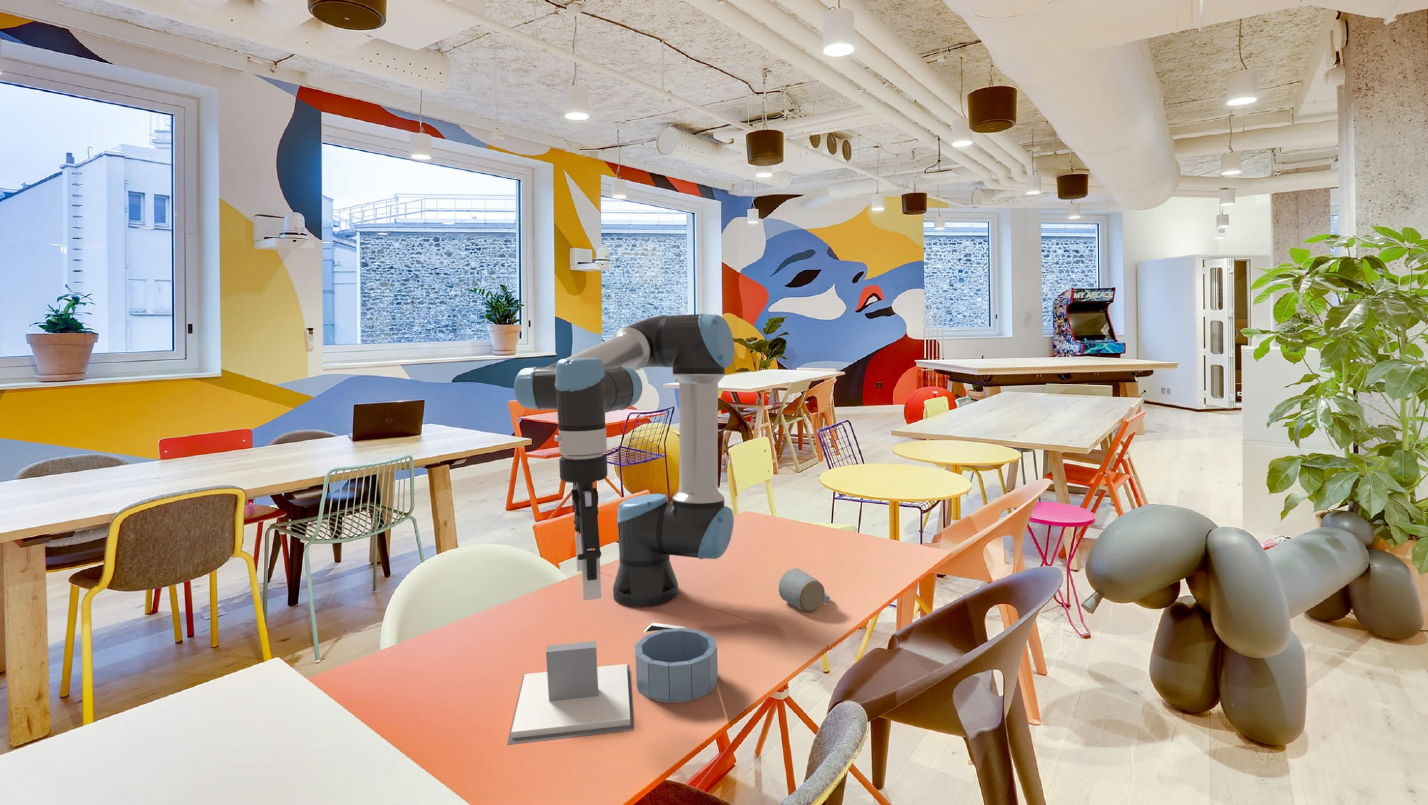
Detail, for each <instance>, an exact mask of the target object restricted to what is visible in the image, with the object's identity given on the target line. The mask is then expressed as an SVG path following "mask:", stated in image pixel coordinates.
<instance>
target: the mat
mask: <svg viewBox="0 0 1428 805" xmlns="http://www.w3.org/2000/svg"><path fill="white" fill-rule="evenodd" d="M627 676H628V692H629V708H630V725H625V726H617V727H608V728H599V729H590V730H581V731H572V732H563V733H555V734H546V735H537V736H528V737H519V738H512V735H511V731H512V727H513V723H514V718H515V714H516V710H517V705H518V701H519V697H520V692H521V688H522V684H523V680H524V675H522V679H521V683H520V687H519V691H518V696H517V701H516V704H515V709H514V712H513V716H512V722H511V725H510V731H509V734H508V735H509V736H508V739H507V743H506V746H508V745H517V744H526V743H535V742H543V741H553V740H562V739H569V738H570V739H571V738H579V737H588V736H597V735H605V734H614V733H622V732H631V731H632V732H633V731H635V724H634V723H635V722H634V710H633V696H632V683H631V680H632V679H631V668H630V664H627Z"/></svg>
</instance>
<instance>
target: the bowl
mask: <svg viewBox="0 0 1428 805" xmlns="http://www.w3.org/2000/svg"><path fill="white" fill-rule="evenodd" d="M634 654H635V657H634V658H635V660H634V661H635V662H634V663H635V680H636V689H637V690H638V692H639V693H640V694H641V695H642V696H644V697H645V698H647V699H649V700H651V701H654V702H655V701H656V702H659V703H660V702H661V703H667V704H669V703H670V704H673V703H674V704H675V703H676V704H677V703H687V702H690V701H694V700H698V699H699V698H703V697H705V696H706V695H708V694H709V693H711V691H713V690H714V688H715V687H717V685H718V680H719V676H718V675H719V671H718V668H719V667H718V645H717V643H716V640H715V637H713V636H712V635H710V634H708V633H706V632H704V631H703V630H699V629H693V628H675V629H664V630H658V631H653V632H651V633H649V634H645V635H643V636H642V638H640V640H638V641H637V642H636V643H635V644H634Z"/></svg>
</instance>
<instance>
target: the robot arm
mask: <svg viewBox="0 0 1428 805" xmlns="http://www.w3.org/2000/svg"><path fill="white" fill-rule="evenodd" d="M734 357H735V343H734V336H733V333H732V330H731V328H730V325H729V324H728V322H727V320H726V319H725V318H724V317H722V315H719V314H710V313H709V314H707V313H700V314H699V313H697V314H696V313H695V314H678V315H677V314H676V315H657V316H653V317H650V318H646V319H643V320H640V321H638V322H635V323H633V324H630V325H627V326H625V327H623V328H620V329H619V330H617V331H616V332H615V333H614V334H613V336H612V338H609V339H607V340H605V341H603V342H601V343H598V344H595V345H594V346H591V347H589V348H587V349H585V350H582V351H580V352H577V353H575V354H573V355H570V356H569V357H567V358H561V359H559V360H558V361H557V362H555V363H552V364H550V365H549V364H548V365H547V366H542V367H541V366H533V367H525V368H523V369H521V370H520V371H519V372H518V373H517V375H516V377H515V379H514V382H513V383H514V384H513V390H514V396H515V399H516V401H517V403H518V404H519V405H520V406H521V407H523V408H525V409H528V410H529V409H530V410H537V411H544V410H545V411H546V410H548V411H552V410H554V411H557V430H558V435H555V436H554V441H555V442H557V443H558V442H559V443H558V451H559V452H558V453H559V454H561V455H562V456H561V457H560V458H559V459H558V461H559V462H558V463H559V464H558V466H559V478H560V479H561V481H562V482H565V483H570V484H573V489H571V500H572V505H573V510H574V511H573V512H574V513H573V514H574V520H573V524H574V531H575V533H574V535H575V538H574V539H575V555H576V556H575V557H576V558H575V560H576V572H581V577H582V578H581V580H582V581H581V582H582V583H581V584H582V600H583V601H588V600H589V601H590V600H599V599H602V584H601V582H602V579H601V560H600V559H601V557H602V551H601V544H600V542H601V541H600V530H599V518H598V517H599V506H598V502H599V491H597V487H594V486H593V483H595V482H599V481H602V480H605V479H606V478H607V477H608V475H609V474H608V457H607V456H606V454H604V453H606V452H607V450H608V444H607V440H608V439H607V427H606V426H607V425H606V413H610V412H615V411H623V410H626V409H628V408H630V407H633V406H634V405H636V404H637V402H639V400H640V399H641V397H642V394H643V382H642V379H641V376H640V375H639V373H637V371H638V370H641V369H642V368H654V367H655V368H672V376H673V378H674V379H675V380H676V381H677V382H678V385H679V387H678V388H679V389H678V390H679V395H678V396H679V399H678V400H679V407H678V409H679V414H678V415H679V421H678V422H679V425H678V426H679V429H678V430H679V432H678V433H679V435H678V436H679V438H678V439H679V442H678V444H679V445H678V446H679V448H678V450H679V455H678V458H679V460H678V462H679V463H678V464H679V465H678V466H679V474H678V475H679V482H678V484H679V486H678V488H679V489H678V491H677V492H676V493H675V494H674V495H673V496H672V502H669V498H668V496H667V494H663V493H649V494H643V495H638V496H635V497H634V496H633V497H630V498H627V499H625V500H624V501H621V503H619V505H618V507H617V519H616V523H617V535H618V536H617V537H618V538H617V540H618V554H619V555H618V556H619V557H618V558H619V564H618V565H619V566H618V569H617V572H616V577H615V580H614V583H613V586H612V594H613V599H614V601H615V602H616V603H618V604H621V605H623V606H626V607H636V608H646V607H647V608H649V607H655V606H661V605H664V604H667V603H669V602H671V601H673V600H674V599H676V598H677V597H678V595H679V583H678V579H677V577H676V574H675V572H674V568H673V567H672V563H671V561H670V560H671V558H670V556H676V557H683V558H684V557H686V558H696V559H699V560H703V559H706V560H717V559H720V558H721V557H722V556H723V555H724V554H725V553H726V550H727V549H728V547H729V545H730V543H731V540H732V536H733V535H732V534H733V532H734V531H733V530H734V524H735V523H734V522H735V516H734V512H733V510H732V508H731V507H729V506H726V505H725V496H724V495H723V494H722V493H721V492H720V490H718V489H719V488H718V487H719V486H718V483H719V482H718V480H719V475H718V474H719V473H718V472H719V470H718V469H719V468H718V464H719V463H718V462H719V461H718V460H719V459H718V458H719V455H718V454H719V447H718V446H719V445H718V444H719V440H718V438H719V434H718V432H719V430H718V429H719V428H718V427H719V382H720V381H721V380H722V379H723V378H724V377H725V375H726V373H725V372H726V370H725V369H726V368H729V367H731V366H732V365H733V362H734Z"/></svg>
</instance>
